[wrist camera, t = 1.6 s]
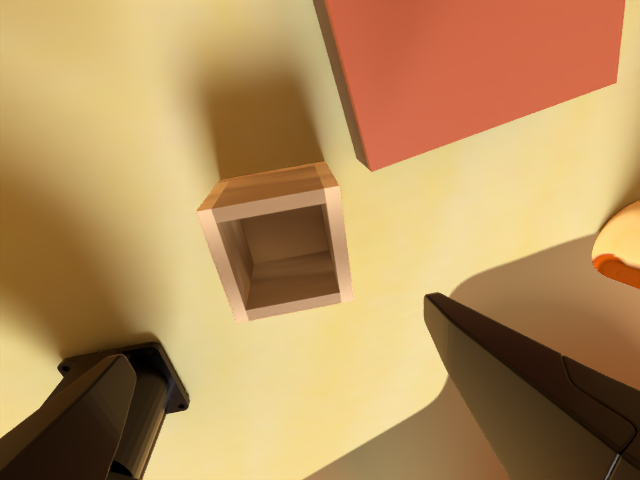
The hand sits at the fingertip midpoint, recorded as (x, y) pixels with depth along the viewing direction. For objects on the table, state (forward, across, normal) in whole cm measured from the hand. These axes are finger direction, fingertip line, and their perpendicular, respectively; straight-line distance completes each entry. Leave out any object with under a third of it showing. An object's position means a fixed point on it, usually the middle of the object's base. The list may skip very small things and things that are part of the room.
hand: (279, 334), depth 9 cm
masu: (+9, 0, 0) cm, 9 cm away
